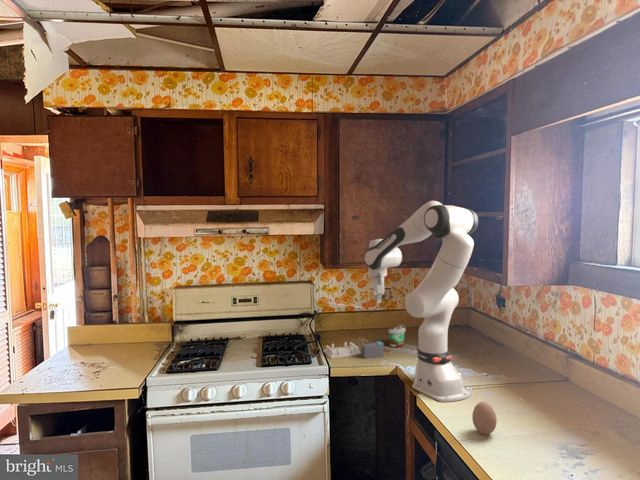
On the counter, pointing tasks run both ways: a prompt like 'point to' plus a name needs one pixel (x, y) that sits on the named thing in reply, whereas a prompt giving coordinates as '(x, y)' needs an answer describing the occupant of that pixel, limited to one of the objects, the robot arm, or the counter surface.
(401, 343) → the food container
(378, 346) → the block
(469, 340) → the counter surface
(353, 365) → the counter surface
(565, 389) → the counter surface
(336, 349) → the pin tray
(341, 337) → the counter surface
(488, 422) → the egg
